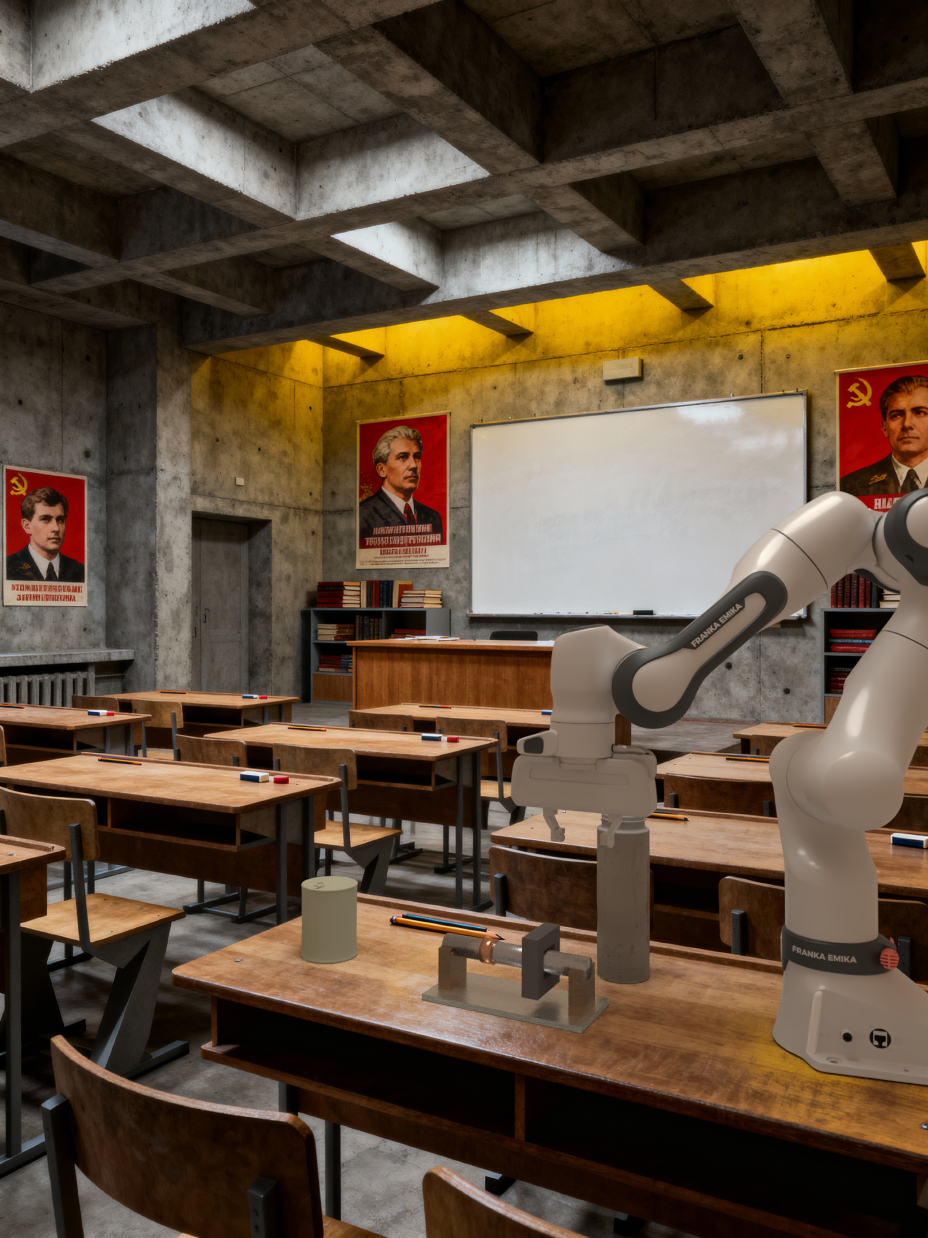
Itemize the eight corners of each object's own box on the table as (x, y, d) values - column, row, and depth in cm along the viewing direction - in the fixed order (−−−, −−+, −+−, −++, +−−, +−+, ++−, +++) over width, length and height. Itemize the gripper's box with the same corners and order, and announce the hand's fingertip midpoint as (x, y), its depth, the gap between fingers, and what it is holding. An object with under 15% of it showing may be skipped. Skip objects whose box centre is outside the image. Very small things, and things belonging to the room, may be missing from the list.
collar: (559, 981, 131) (560, 925, 131) (537, 1000, 124) (537, 940, 124) (544, 978, 132) (544, 922, 132) (521, 997, 125) (521, 938, 125)
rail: (609, 1004, 129) (609, 945, 129) (581, 1033, 119) (581, 969, 120) (458, 975, 140) (458, 920, 141) (421, 999, 131) (422, 941, 131)
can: (288, 957, 148) (289, 882, 149) (325, 941, 156) (326, 870, 156) (332, 968, 143) (333, 890, 144) (369, 951, 151) (369, 878, 152)
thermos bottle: (649, 967, 144) (649, 787, 145) (649, 986, 136) (649, 795, 137) (598, 963, 146) (598, 786, 147) (595, 981, 138) (595, 793, 139)
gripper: (663, 744, 124) (663, 848, 124) (524, 736, 134) (524, 832, 133) (649, 749, 119) (649, 857, 118) (506, 740, 128) (505, 840, 128)
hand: (582, 844), depth 126 cm, fingers open, 6 cm apart
